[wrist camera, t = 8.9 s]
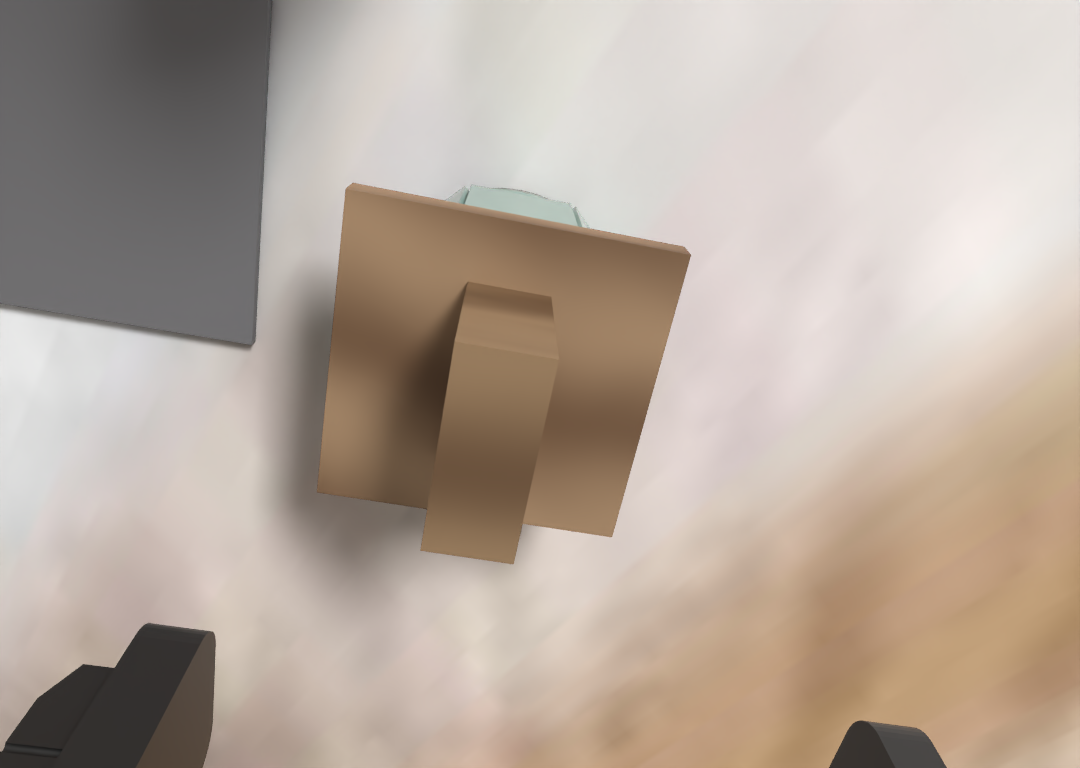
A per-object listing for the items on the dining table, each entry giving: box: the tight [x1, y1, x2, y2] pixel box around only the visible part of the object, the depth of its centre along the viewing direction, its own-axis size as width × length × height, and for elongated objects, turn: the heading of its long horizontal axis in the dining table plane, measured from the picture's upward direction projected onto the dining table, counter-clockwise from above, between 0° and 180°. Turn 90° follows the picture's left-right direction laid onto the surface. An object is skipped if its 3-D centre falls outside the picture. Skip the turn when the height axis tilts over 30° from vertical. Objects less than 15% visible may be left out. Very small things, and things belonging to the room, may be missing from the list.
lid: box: [317, 183, 691, 564], centre depth 22 cm, size 10×10×6 cm
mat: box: [0, 0, 272, 345], centre depth 26 cm, size 12×12×1 cm
